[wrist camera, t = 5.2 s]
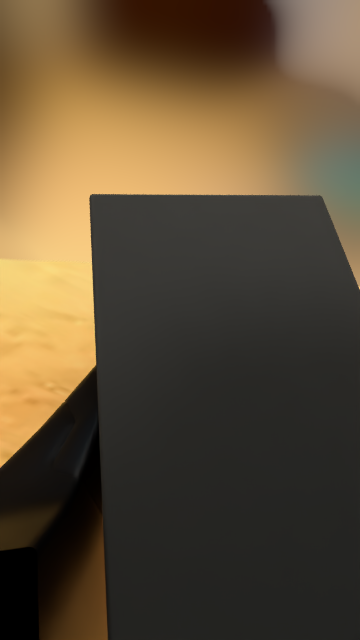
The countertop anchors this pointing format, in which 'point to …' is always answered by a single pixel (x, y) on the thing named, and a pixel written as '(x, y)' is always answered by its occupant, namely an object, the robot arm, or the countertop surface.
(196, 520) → the back pad
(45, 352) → the countertop surface
